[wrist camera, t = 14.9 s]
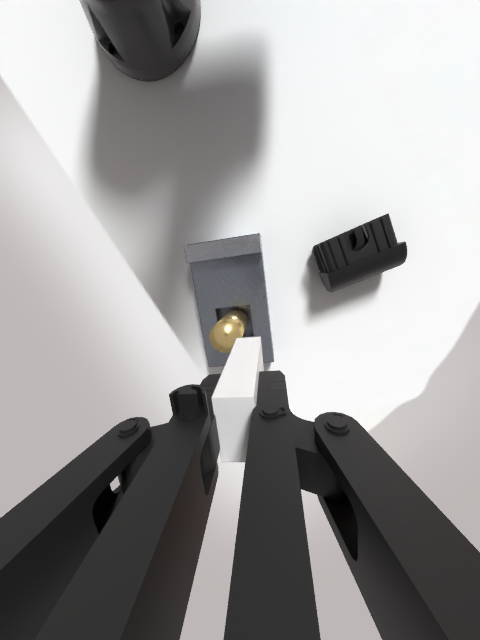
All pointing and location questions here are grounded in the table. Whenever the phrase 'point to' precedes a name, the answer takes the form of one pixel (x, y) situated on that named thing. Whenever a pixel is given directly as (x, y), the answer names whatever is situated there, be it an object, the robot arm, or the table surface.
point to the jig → (231, 289)
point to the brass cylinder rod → (228, 330)
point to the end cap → (359, 254)
